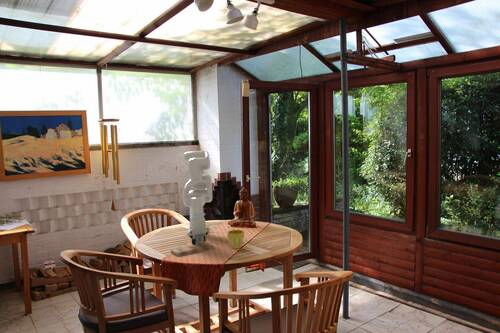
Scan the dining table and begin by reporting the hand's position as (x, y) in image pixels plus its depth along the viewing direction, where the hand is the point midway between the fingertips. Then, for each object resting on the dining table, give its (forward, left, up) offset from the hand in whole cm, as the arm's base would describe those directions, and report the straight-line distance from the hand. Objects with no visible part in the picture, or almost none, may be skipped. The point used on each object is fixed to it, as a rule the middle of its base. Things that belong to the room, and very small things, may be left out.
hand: (198, 243), depth 260 cm
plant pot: (-16, +19, -2) cm, 25 cm away
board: (+8, +7, -1) cm, 11 cm away
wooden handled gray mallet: (0, +4, -2) cm, 5 cm away
